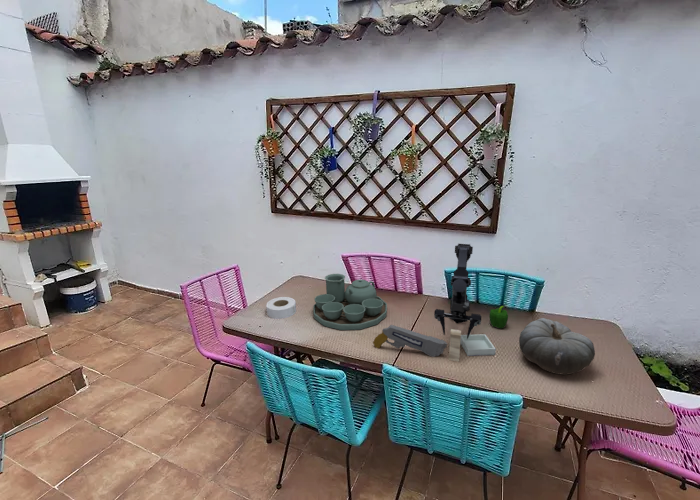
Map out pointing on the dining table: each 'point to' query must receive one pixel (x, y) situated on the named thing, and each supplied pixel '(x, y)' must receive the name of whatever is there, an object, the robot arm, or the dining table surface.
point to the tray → (477, 345)
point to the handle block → (454, 345)
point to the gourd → (556, 347)
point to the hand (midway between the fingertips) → (455, 336)
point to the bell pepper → (498, 317)
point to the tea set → (349, 304)
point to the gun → (410, 340)
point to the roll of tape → (281, 307)
